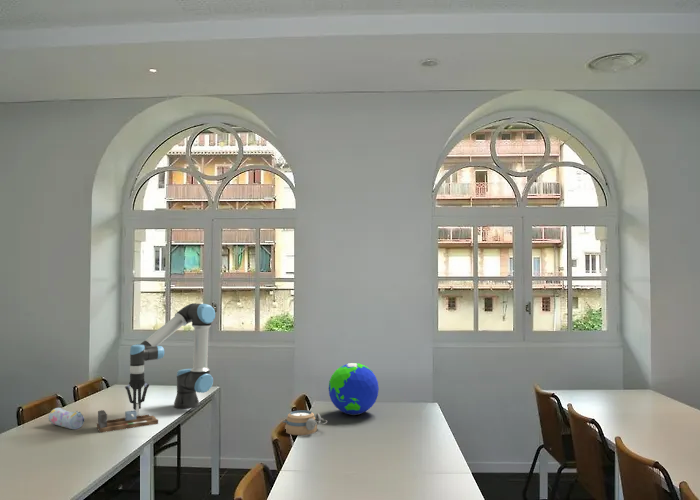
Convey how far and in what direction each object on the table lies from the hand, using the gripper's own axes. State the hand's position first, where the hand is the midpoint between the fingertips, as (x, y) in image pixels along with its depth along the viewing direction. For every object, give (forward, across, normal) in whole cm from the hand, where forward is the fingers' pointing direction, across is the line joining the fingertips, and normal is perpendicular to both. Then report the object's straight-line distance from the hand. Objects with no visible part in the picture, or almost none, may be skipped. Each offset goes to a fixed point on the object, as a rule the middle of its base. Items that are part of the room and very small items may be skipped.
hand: (136, 415), depth 315 cm
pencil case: (+6, +34, -17) cm, 38 cm away
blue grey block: (+3, +3, +2) cm, 5 cm away
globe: (+5, -112, +50) cm, 123 cm away
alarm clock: (+5, -73, +64) cm, 97 cm away
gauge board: (+5, +5, 0) cm, 7 cm away
